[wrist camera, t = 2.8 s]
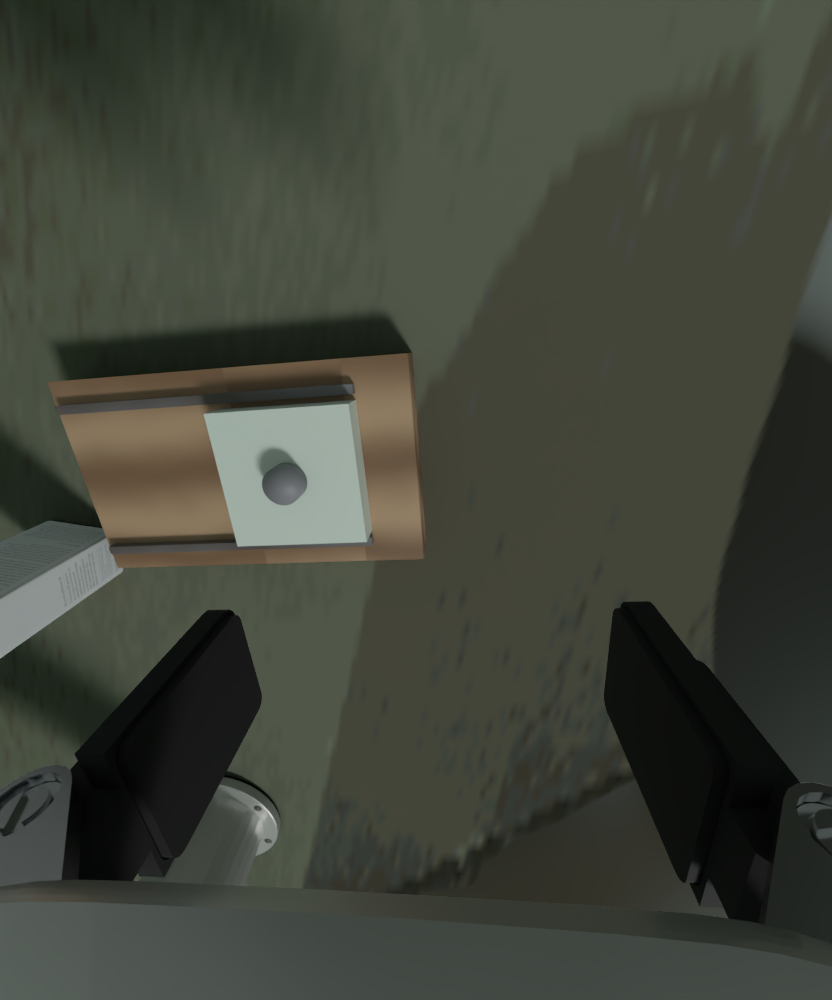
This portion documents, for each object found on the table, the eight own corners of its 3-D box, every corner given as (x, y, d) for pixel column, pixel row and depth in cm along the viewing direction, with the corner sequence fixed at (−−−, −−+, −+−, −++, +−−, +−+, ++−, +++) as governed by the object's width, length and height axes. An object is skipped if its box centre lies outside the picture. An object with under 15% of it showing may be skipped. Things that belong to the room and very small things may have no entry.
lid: (372, 529, 29) (363, 550, 26) (250, 533, 30) (228, 555, 27) (355, 399, 25) (343, 406, 22) (220, 409, 26) (191, 417, 23)
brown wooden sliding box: (426, 540, 32) (423, 562, 29) (144, 549, 34) (111, 571, 31) (412, 352, 27) (406, 353, 24) (85, 378, 29) (38, 382, 26)
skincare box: (59, 562, 36) (-119, 661, 24) (50, 518, 34) (-145, 602, 23) (126, 573, 35) (-22, 677, 24) (120, 529, 34) (-42, 619, 23)
